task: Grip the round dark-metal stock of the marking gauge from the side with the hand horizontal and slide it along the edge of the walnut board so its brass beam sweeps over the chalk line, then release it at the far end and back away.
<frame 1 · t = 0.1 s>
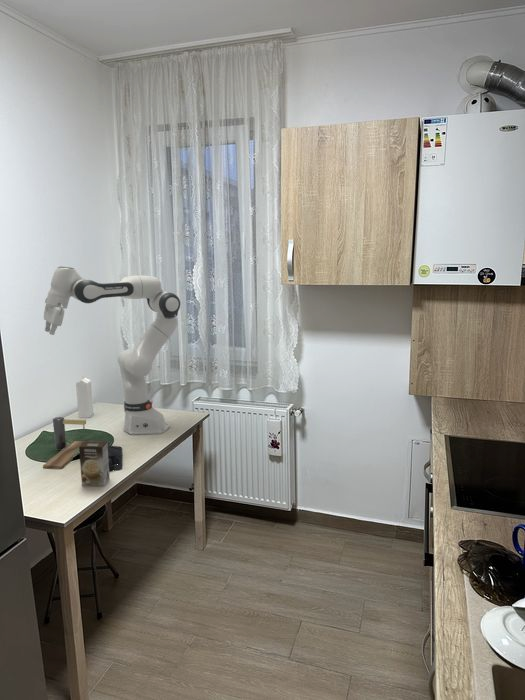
hand: (49, 333, 216), 52 cm above the table, tool tilted 20°, fingers open, 8 cm apart
dark slate chunk: (106, 462, 209), on the table
coffee box: (96, 483, 190), on the table
milk: (86, 416, 265), on the table
board: (67, 455, 215), on the table
gauge: (61, 448, 222), on the table
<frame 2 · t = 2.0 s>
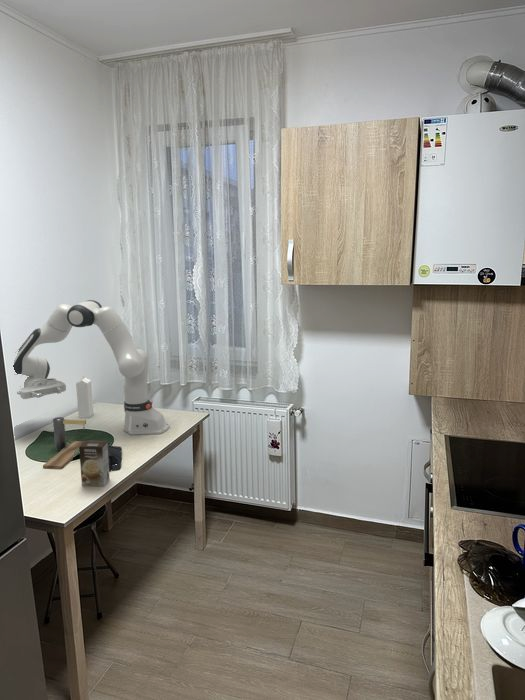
hand: (49, 393, 230), 22 cm above the table, tool horizontal, fingers open, 8 cm apart
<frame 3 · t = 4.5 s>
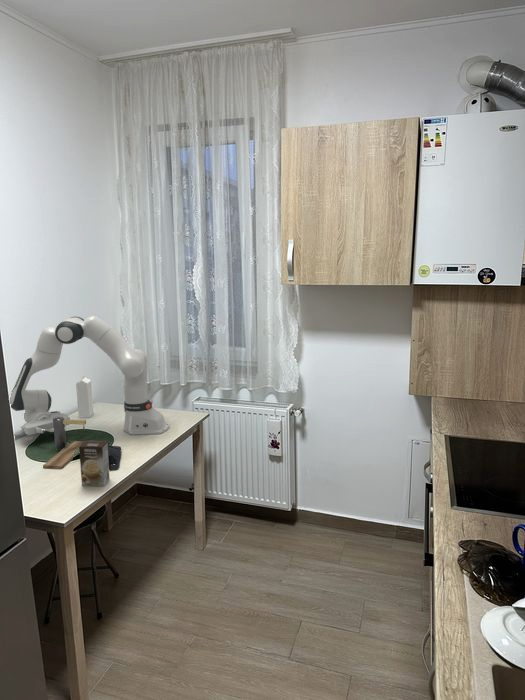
hand: (53, 428, 226), 7 cm above the table, tool horizontal, fingers open, 8 cm apart
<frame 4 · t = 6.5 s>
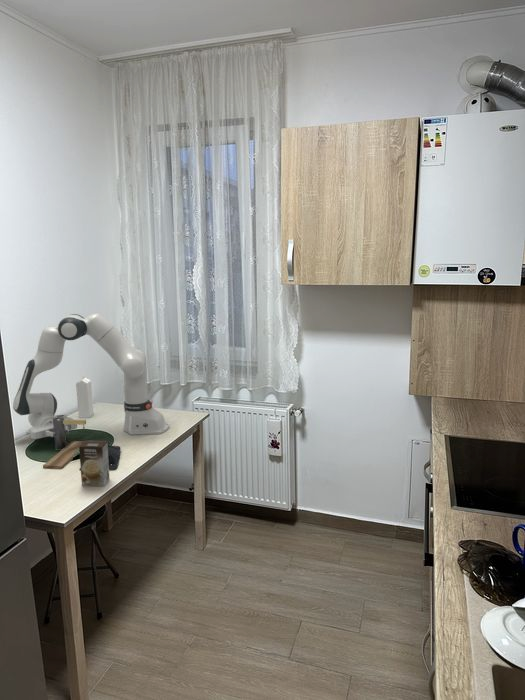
hand: (60, 433, 220), 8 cm above the table, tool horizontal, fingers closed on gauge, 5 cm apart
gauge: (61, 448, 222), on the table, touching gripper
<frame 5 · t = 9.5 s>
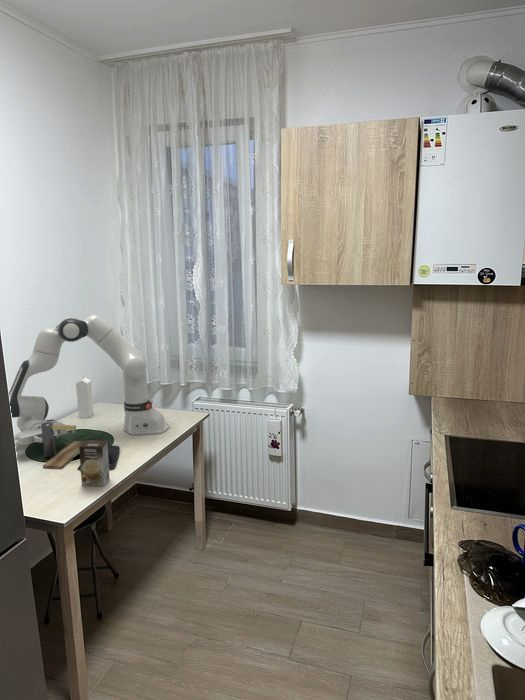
hand: (49, 438, 211), 8 cm above the table, tool horizontal, fingers closed on gauge, 5 cm apart
gauge: (50, 454, 213), point 1 cm above the table, touching gripper
when the fingers open (8 cm above the table, at t = 12.3 s): gauge stays where it is, on the table.
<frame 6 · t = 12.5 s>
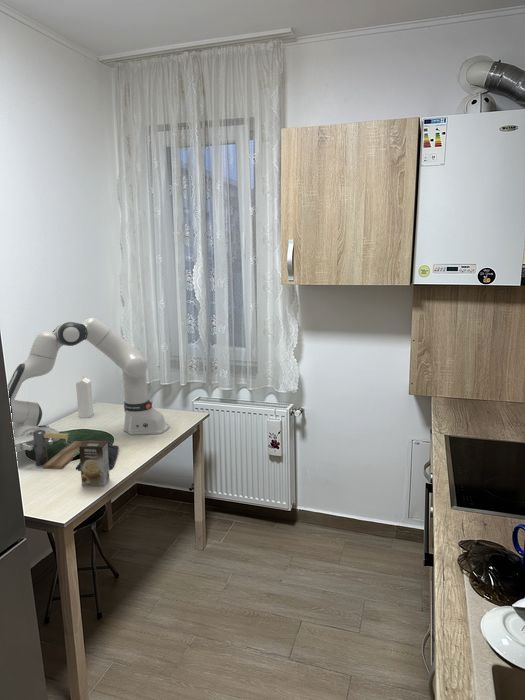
hand: (41, 445, 205), 8 cm above the table, tool horizontal, fingers open, 7 cm apart
gauge: (42, 463, 207), on the table
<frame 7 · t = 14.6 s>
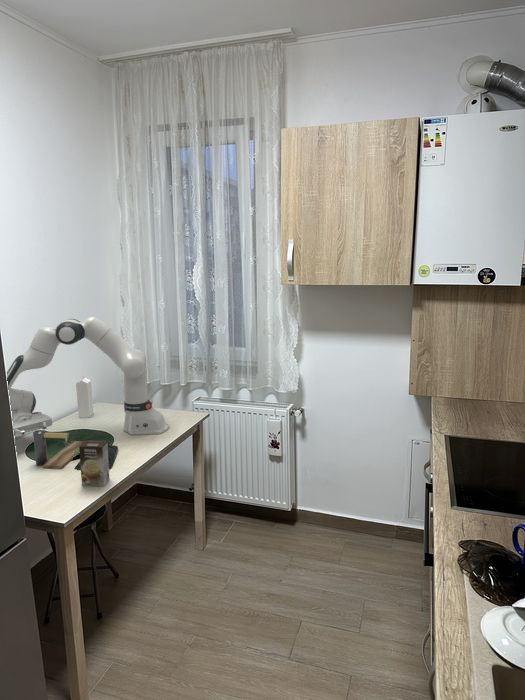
hand: (34, 430, 215), 11 cm above the table, tool horizontal, fingers open, 8 cm apart
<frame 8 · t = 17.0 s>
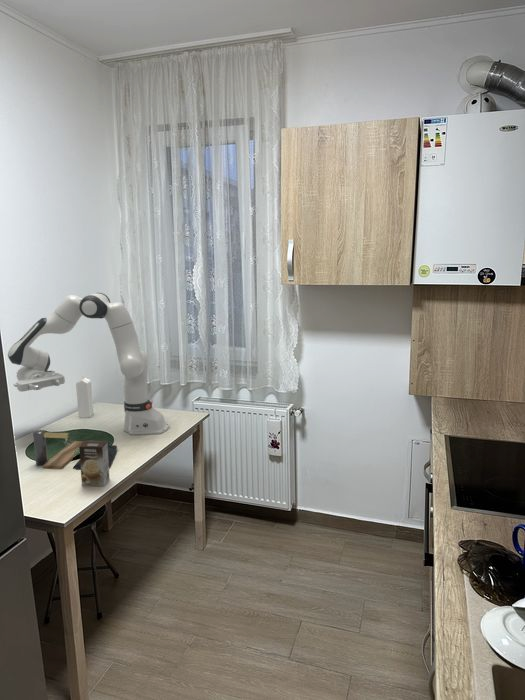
hand: (47, 386, 221), 28 cm above the table, tool horizontal, fingers open, 8 cm apart
at the end: gauge inside the target area (0.5 cm from its centre), on the table; gauge tilted 0°; the gripper is holding nothing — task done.
